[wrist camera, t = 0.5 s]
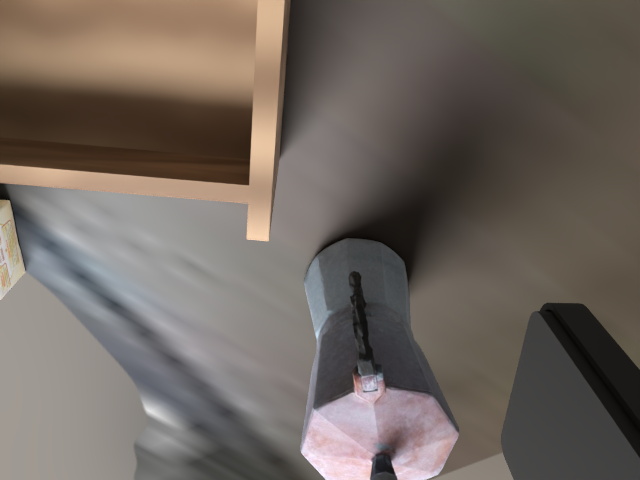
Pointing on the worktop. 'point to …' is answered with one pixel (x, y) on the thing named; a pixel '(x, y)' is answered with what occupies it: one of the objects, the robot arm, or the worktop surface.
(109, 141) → the shelf
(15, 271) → the coffeecake box
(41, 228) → the worktop surface
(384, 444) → the moka pot
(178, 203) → the worktop surface
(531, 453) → the robot arm
